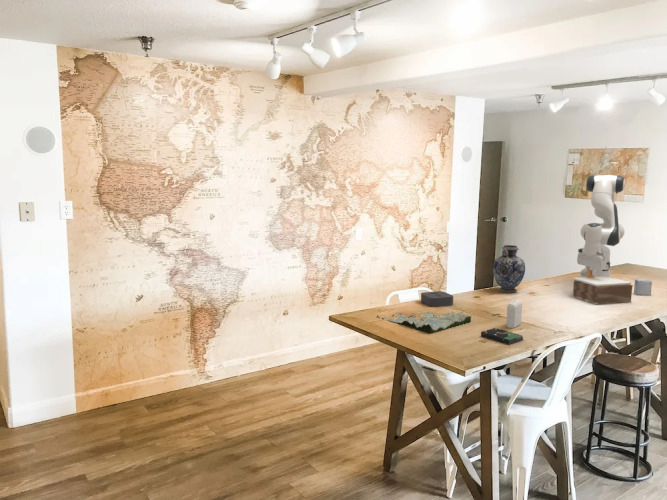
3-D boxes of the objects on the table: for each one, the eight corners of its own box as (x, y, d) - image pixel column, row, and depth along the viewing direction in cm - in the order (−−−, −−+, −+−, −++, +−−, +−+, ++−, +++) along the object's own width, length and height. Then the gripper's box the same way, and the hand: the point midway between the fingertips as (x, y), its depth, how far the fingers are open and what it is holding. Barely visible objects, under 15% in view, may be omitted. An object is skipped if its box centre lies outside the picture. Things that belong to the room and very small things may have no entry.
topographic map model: (376, 318, 266) (376, 308, 265) (416, 309, 284) (416, 300, 283) (430, 335, 238) (430, 324, 238) (470, 323, 257) (471, 313, 256)
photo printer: (513, 328, 246) (515, 303, 244) (505, 327, 248) (506, 301, 247) (522, 324, 253) (523, 299, 252) (513, 322, 256) (514, 297, 254)
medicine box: (647, 293, 315) (648, 279, 314) (651, 295, 311) (652, 281, 309) (633, 293, 316) (634, 279, 315) (636, 295, 311) (638, 280, 310)
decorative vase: (498, 285, 337) (500, 242, 333) (527, 289, 327) (531, 245, 322) (486, 292, 320) (489, 246, 316) (517, 296, 310) (520, 249, 305)
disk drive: (480, 338, 235) (509, 346, 223) (480, 331, 234) (509, 339, 223) (494, 333, 241) (523, 341, 229) (494, 327, 240) (523, 334, 229)
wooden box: (572, 296, 309) (573, 280, 307) (604, 294, 314) (605, 278, 313) (597, 304, 290) (598, 287, 288) (630, 302, 295) (632, 285, 293)
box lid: (572, 279, 309) (572, 270, 308) (604, 277, 314) (605, 269, 313) (597, 286, 289) (597, 277, 288) (631, 284, 294) (631, 275, 294)
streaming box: (419, 301, 298) (419, 292, 298) (441, 299, 303) (441, 290, 302) (431, 307, 285) (431, 298, 284) (455, 305, 289) (455, 296, 289)
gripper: (610, 253, 298) (608, 277, 300) (585, 248, 318) (583, 271, 320) (600, 254, 297) (598, 278, 299) (575, 249, 316) (574, 271, 318)
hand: (590, 274), depth 309 cm, fingers closed on box lid, 2 cm apart
